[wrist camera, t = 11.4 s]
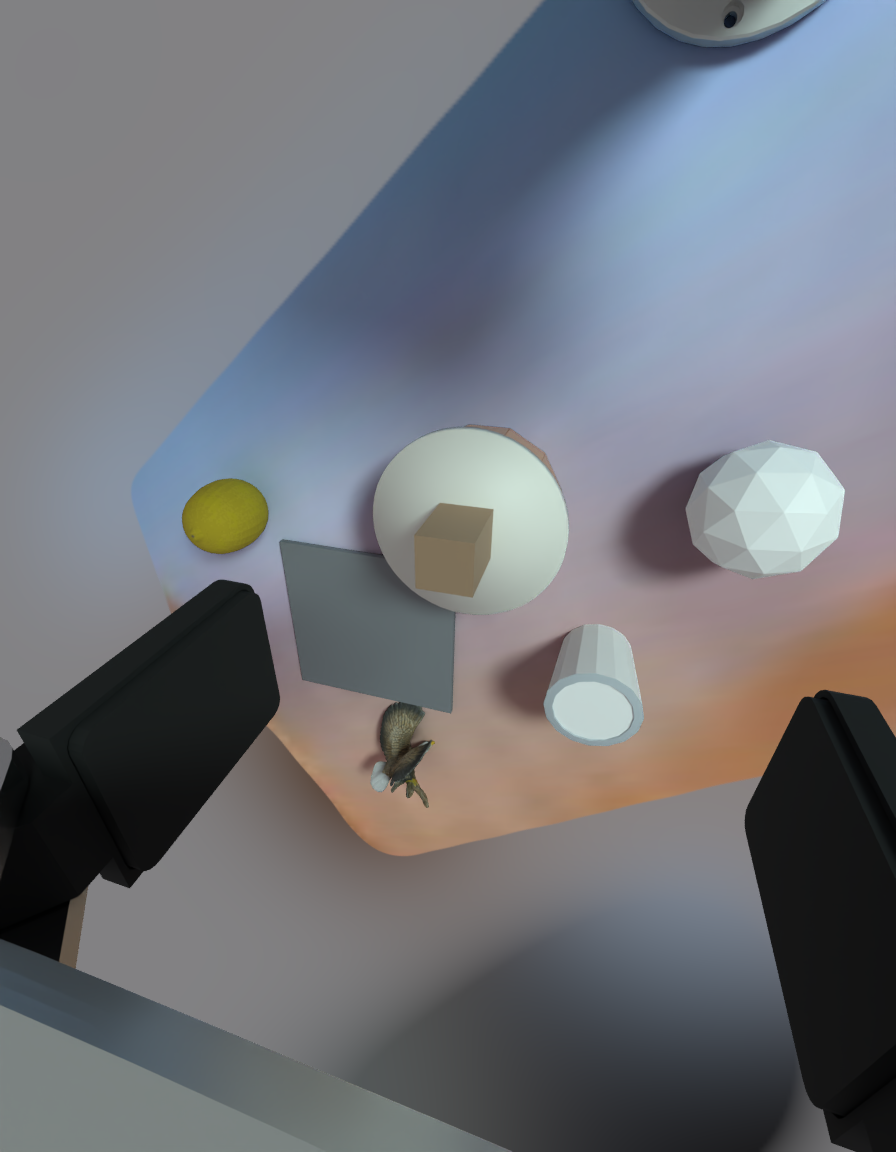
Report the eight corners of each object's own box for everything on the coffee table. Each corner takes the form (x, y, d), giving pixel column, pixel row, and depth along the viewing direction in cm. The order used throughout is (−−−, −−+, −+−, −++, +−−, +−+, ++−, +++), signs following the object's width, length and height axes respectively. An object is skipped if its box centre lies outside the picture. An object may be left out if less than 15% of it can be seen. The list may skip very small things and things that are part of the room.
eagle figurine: (458, 781, 53) (453, 733, 47) (403, 829, 50) (391, 783, 44) (412, 734, 58) (403, 685, 52) (360, 775, 54) (343, 727, 48)
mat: (282, 539, 45) (279, 541, 45) (456, 566, 42) (455, 569, 41) (305, 676, 53) (302, 679, 53) (452, 709, 50) (450, 713, 49)
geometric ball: (762, 449, 34) (895, 436, 26) (748, 568, 35) (871, 589, 27) (664, 443, 32) (777, 427, 24) (653, 570, 33) (757, 593, 25)
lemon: (270, 461, 42) (204, 495, 35) (295, 523, 44) (238, 566, 37) (218, 471, 44) (146, 506, 37) (245, 530, 46) (182, 573, 39)
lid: (371, 418, 32) (327, 443, 27) (582, 436, 29) (576, 467, 24) (382, 593, 39) (349, 638, 34) (556, 622, 36) (546, 676, 31)
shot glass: (635, 690, 43) (638, 754, 37) (552, 679, 44) (542, 739, 39) (645, 621, 39) (650, 681, 33) (554, 613, 41) (544, 668, 35)
